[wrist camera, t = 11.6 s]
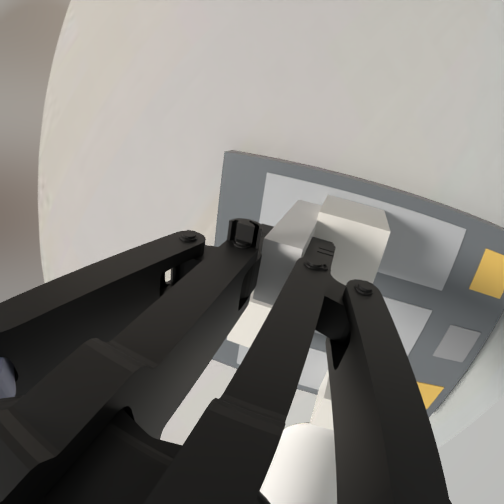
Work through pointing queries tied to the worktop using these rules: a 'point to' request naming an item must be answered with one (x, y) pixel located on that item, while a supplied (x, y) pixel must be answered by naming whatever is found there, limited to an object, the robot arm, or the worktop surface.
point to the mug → (303, 467)
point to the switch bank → (388, 265)
